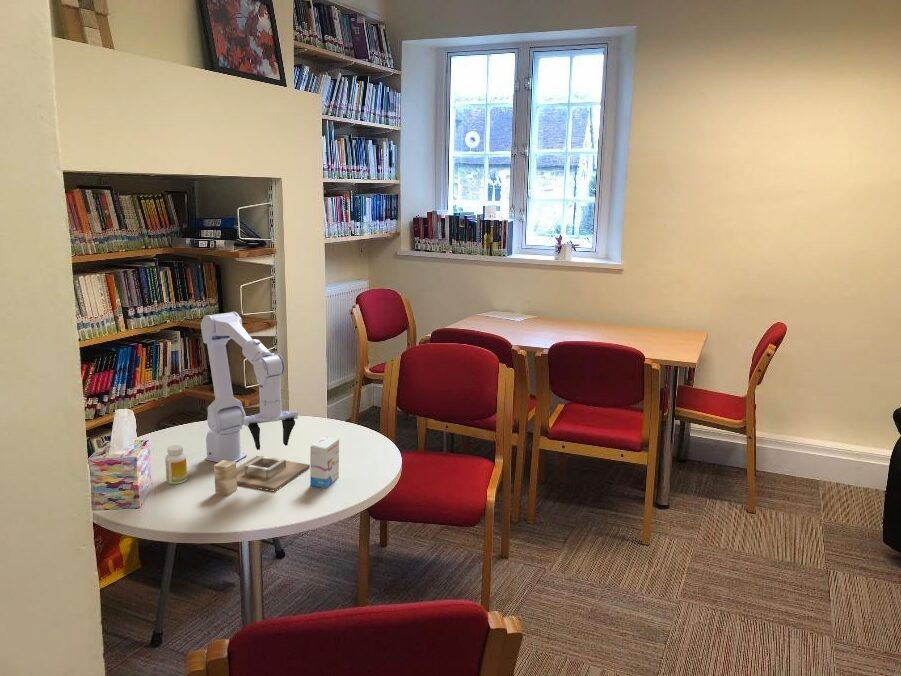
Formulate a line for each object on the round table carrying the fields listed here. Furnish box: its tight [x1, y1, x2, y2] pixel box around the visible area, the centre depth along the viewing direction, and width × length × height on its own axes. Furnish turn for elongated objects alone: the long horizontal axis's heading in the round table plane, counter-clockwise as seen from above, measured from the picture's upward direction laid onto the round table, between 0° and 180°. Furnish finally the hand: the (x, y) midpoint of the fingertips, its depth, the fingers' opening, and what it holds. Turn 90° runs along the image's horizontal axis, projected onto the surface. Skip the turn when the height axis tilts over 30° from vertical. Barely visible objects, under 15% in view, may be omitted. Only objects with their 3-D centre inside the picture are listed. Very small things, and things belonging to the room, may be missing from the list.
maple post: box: [213, 460, 238, 497], centre depth 197 cm, size 4×4×8 cm
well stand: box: [236, 455, 310, 492], centre depth 209 cm, size 18×18×4 cm
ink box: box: [309, 436, 340, 489], centre depth 204 cm, size 9×5×12 cm, turn 163°
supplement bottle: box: [164, 444, 188, 485], centre depth 203 cm, size 5×5×10 cm
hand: (271, 446), depth 203 cm, fingers open, 7 cm apart
